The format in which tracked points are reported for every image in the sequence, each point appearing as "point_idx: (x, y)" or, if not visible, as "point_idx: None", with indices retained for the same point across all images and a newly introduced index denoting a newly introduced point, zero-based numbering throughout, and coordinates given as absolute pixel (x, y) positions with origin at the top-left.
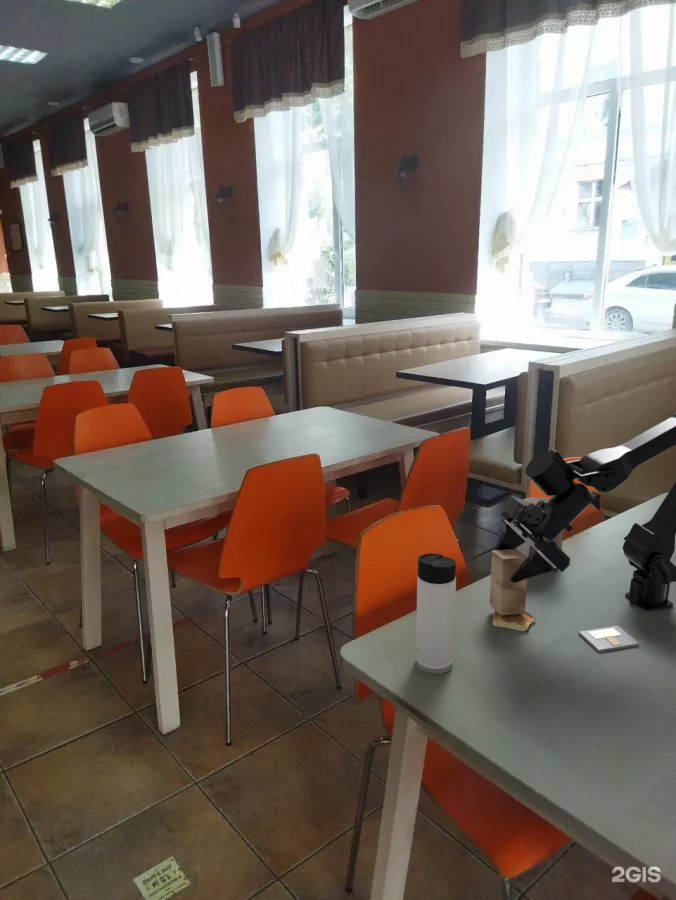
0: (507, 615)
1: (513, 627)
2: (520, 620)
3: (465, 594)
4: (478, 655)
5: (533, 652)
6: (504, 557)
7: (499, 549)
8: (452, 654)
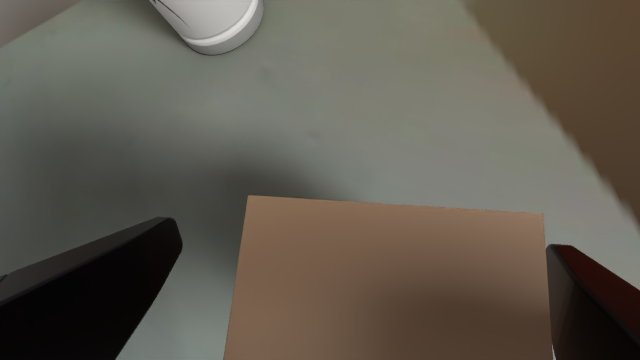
0: None
1: None
2: None
3: (602, 226)
4: (213, 124)
5: None
6: (281, 231)
7: (594, 337)
8: (172, 25)
